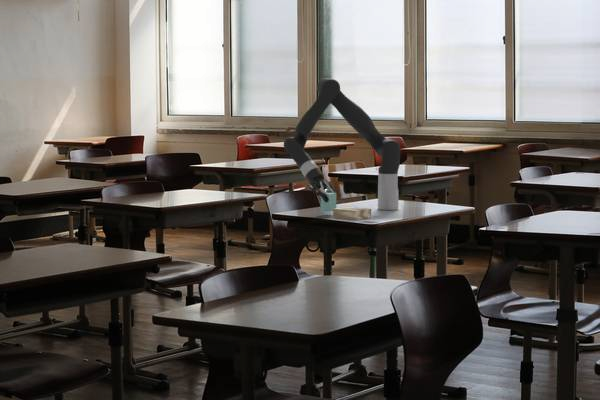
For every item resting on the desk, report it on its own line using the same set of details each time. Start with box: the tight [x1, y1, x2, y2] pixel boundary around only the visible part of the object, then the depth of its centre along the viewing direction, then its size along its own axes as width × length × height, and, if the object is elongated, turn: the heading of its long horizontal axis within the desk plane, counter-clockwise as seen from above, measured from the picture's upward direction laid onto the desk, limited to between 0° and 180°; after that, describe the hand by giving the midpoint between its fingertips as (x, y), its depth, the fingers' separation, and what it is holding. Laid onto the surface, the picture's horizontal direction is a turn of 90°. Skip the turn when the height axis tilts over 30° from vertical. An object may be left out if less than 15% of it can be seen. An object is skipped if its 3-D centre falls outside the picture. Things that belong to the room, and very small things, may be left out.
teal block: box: [320, 191, 337, 213], centre depth 452 cm, size 5×5×8 cm
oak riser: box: [332, 206, 372, 221], centre depth 443 cm, size 12×12×4 cm
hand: (331, 200), depth 450 cm, fingers closed on teal block, 5 cm apart
